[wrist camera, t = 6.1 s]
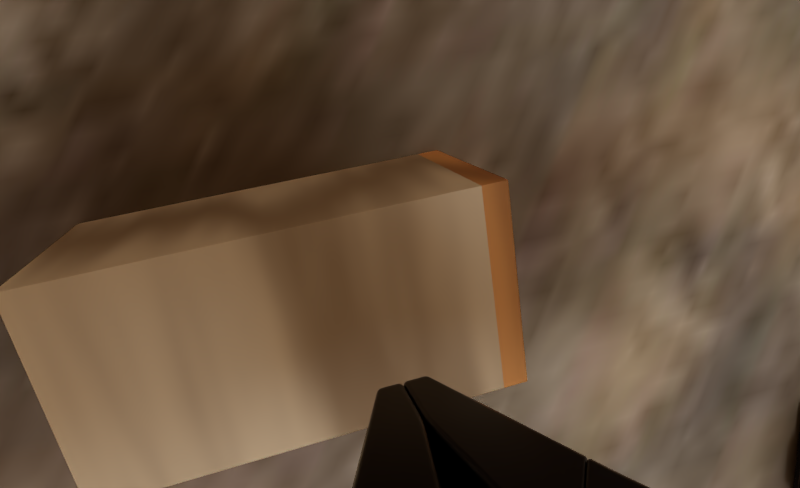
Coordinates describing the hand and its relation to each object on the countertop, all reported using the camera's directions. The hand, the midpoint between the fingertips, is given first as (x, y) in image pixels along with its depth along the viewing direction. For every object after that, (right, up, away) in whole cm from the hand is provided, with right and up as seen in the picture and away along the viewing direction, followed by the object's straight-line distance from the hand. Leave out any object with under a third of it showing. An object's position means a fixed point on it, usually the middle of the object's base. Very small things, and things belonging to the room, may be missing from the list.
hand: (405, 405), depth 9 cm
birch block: (+2, +2, +6) cm, 7 cm away
